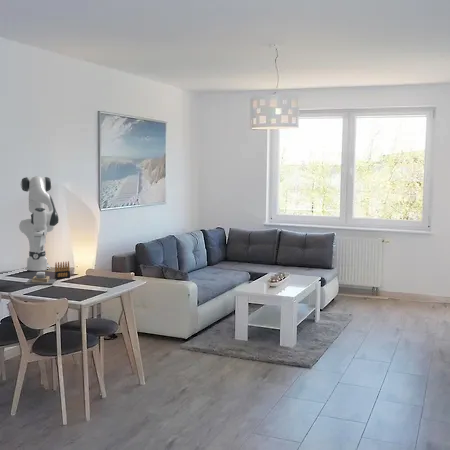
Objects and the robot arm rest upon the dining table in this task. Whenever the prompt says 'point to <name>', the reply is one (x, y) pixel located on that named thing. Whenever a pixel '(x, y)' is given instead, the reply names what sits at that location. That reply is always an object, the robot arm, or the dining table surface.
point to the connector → (40, 275)
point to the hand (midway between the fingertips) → (40, 252)
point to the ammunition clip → (62, 270)
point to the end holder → (40, 281)
